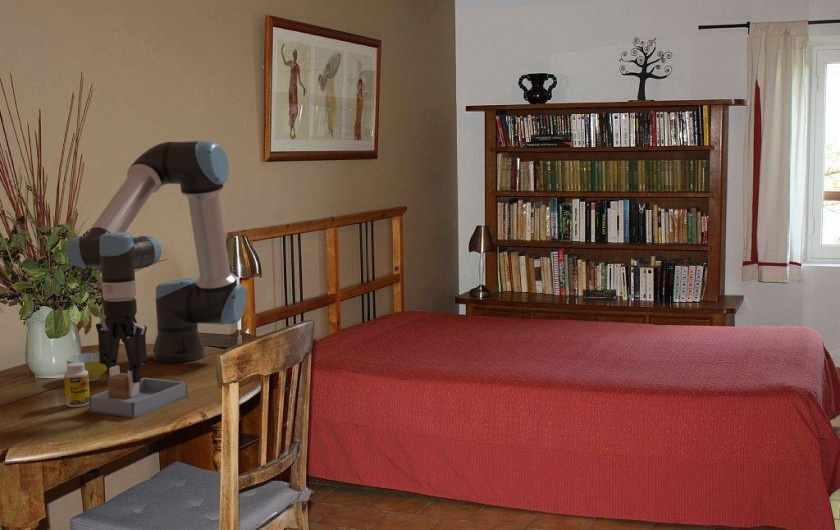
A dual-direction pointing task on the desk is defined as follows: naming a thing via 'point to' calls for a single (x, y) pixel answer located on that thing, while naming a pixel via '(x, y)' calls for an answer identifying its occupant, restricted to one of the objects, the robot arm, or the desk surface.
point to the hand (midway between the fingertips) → (125, 394)
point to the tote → (140, 398)
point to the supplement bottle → (76, 385)
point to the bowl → (89, 364)
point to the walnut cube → (119, 386)
